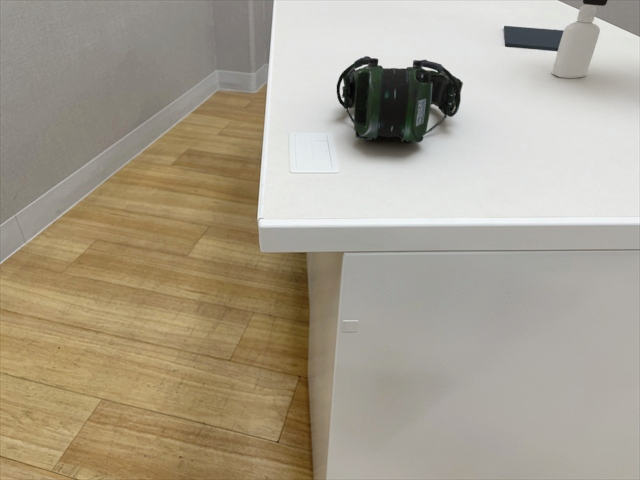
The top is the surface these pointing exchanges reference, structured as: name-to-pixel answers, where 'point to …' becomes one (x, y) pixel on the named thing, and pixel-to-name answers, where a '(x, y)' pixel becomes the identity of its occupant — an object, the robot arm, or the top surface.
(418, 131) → the headphones
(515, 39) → the slate mat
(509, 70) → the top surface
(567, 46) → the eye dropper bottle
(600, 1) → the robot arm
